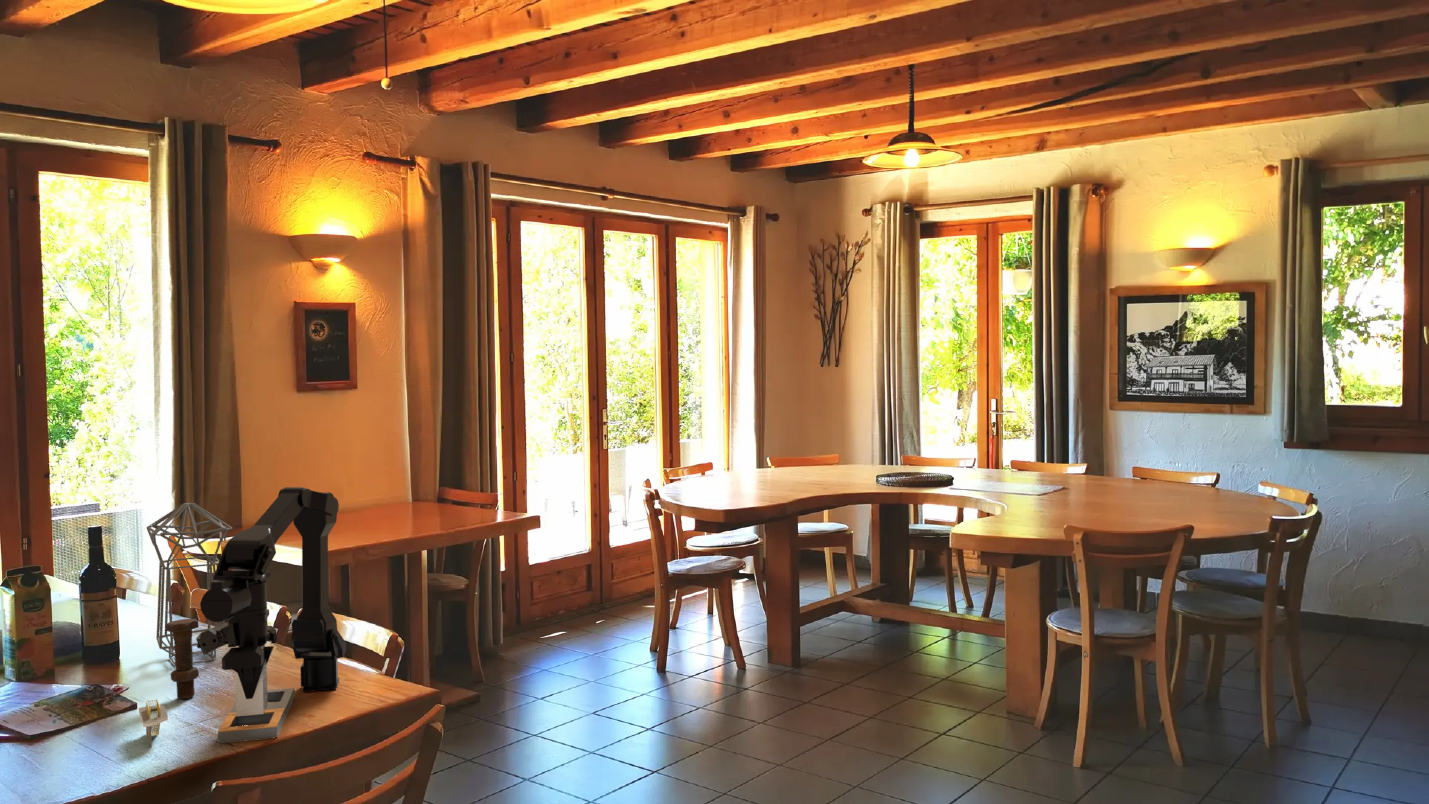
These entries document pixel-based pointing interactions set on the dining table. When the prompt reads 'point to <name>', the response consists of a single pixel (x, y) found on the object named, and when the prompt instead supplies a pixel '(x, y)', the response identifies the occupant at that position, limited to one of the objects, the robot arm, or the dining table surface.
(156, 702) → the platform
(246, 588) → the robot arm
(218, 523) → the geometric lantern
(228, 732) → the rail plate
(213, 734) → the dining table surface
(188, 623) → the bolt
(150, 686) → the dining table surface
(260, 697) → the nut block
